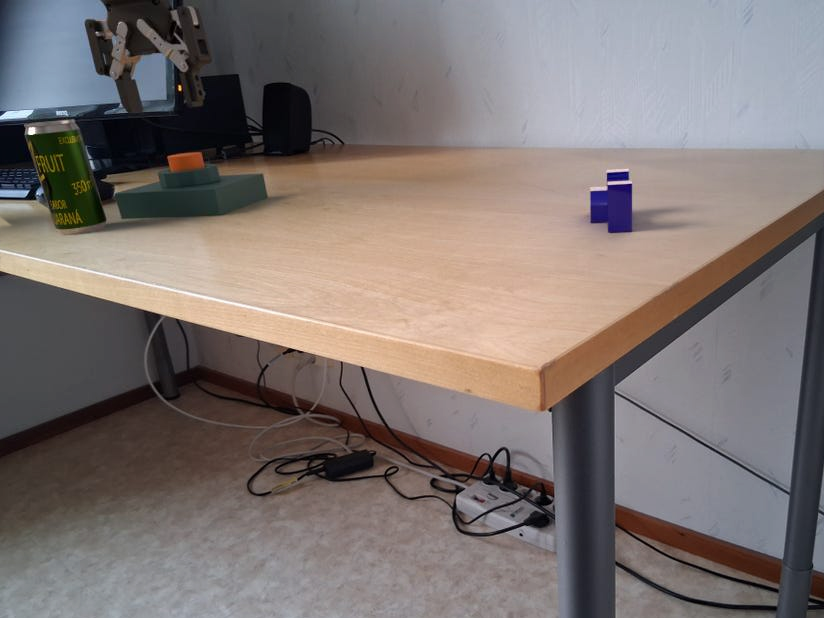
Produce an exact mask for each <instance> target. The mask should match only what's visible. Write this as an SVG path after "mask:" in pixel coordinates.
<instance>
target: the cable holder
mask: <svg viewBox="0 0 824 618" xmlns="http://www.w3.org/2000/svg"><path fill="white" fill-rule="evenodd" d="M605 173H606V185H605V186H603V185H602V186H590V188H589V190H590V191H589V193H590V194H589V196H590V197H589V201H590V202H589V203H590V204H589V205H590V207H589V210H590V211H589V213H590V216H589V217H590V224H596V223H607V233H626V232H630V233H631V232H633V182H632V180H630V170H629V168H616V169H606V172H605Z"/></svg>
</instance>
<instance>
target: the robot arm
mask: <svg viewBox="0 0 824 618" xmlns="http://www.w3.org/2000/svg"><path fill="white" fill-rule="evenodd" d="M99 1H100V3H102V4H103V5H104V7H105V9H106V19H100V18H87V19H85V20H84V28H85V31H86V36H87V40H88V45H89V48H90V52H91V57H92V60H93V66H94V68H95V72H96V73H97V75H99V76H105V77H109V78H111V79H113V81H114V82H115V86H116V90H117V94H118V96H119V100H120V104H121V106H122V108H123V109H125V111H126V113H127V114H137V113H142V112H144V107H143V103H142V99H141V96H140V93H139V87H138V84H137V80H136V79H135V78H133V76H134V72H135V69H136V65H137V64H138V63H139V62H140V60H142V59H141V58H142V56H150V55H153V54H162V55H163V56H164V57H166V58H167V59H169V60H170V61H171V62H172V63H173V64H174V65H175V66H176V67H177V69H179V71H180V72H181V73H180V72H179V73H178V74H179V79H180V82H181V86H182V91H183V95H184V99H185V103H186V106H187V107H188V108H199V107H202V106H203V105H204V101H205V91H204V87H203V83H202V82H203V81H202V79H201V74H200V71H201V69H202V68H203V67H204V66H206V65H208V64H211V63H212V62H213V56H212V53H211V49H210V45H209V42H208V41H209V40H208V38H207V34H206V31H205V26H204V24H203V20H202V16H201V12H200V10H199V8H198V7H197V6H189V5H179V6H177V7H176V9H174V8H173V6H172V4H171V0H99ZM177 26H178V27H179V28H180V29H181V32H182V35H183V39H184V41H183V40H182V39H181V37H180V36H179V35H178V34H177V33H176V29H177V28H178V27H177ZM113 37H115V40H114V43H113ZM132 78H133V79H132Z"/></svg>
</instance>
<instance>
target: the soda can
mask: <svg viewBox="0 0 824 618" xmlns="http://www.w3.org/2000/svg"><path fill="white" fill-rule="evenodd" d="M23 126H24V128H25V131H24V138H25V140H26V143H27V146H28V150H29V153H30V155H31V158H32V161H33V164H34V168H35V170H36V173H37V177H38V180H39V183H40V186H41V189H42V192H43V195H44V198H45V201H46V204H47V207H48V210H49V214H50V216H51V219H52V223H53V225H54V229H55V230H56V231H57V232H58V233H59V234H60V235H62V236H71V235H80V234H81V235H82V234H88V233H92V232H97V231H99V230H103V229H105V228H106V227H107V222H108V218H107V215H106V212H105V209H104V205H103V202H102V199H101V195H100V192H99V189H98V185H97V181H96V179H95V175H94V172H93V168H92V165H91V161H90V158H89V155H88V152H87V149H86V144H85V141H84V138H83V135H82V131H81V128H80V127H79V125H77V123H76V119H74V118H73V119H60V120H49V121H39V122H31V123H25V124H23Z"/></svg>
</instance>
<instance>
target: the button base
mask: <svg viewBox="0 0 824 618" xmlns="http://www.w3.org/2000/svg"><path fill="white" fill-rule="evenodd" d="M204 166H205V167H203V168H199V169H193V170H185V171H171V170H170V167H169V168H166V169H165V168H164V169H161V170H159V171H158V172H157V176H158V180H159V181H155V182H151V183H147V184H144V185H140V186H136V187H133V188H129V189H125V190H121V191H118V192H117V191H116V192H114V197H115V201H116V205H117V208H118V212H119V215H120V218H121V220H132V219H133V220H134V219H160V218H161V219H163V218H165V219H166V218H167V219H168V218H188V217H189V218H190V217H191V218H192V217H193V218H195V217H220V216H224V215H226V214H229V213H232V212H235V211H237V210H240V209H242V208H244V207H247V206H249V205H252V204H255V203H258V202H260V201H263V200H265V199H268V198H269V197H268V191H267V186H266V181H265V177H264V173H262V172H261V173H244V174H224V175H223V174H221V175H220V171H219V166H218V164H216V163H204Z"/></svg>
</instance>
